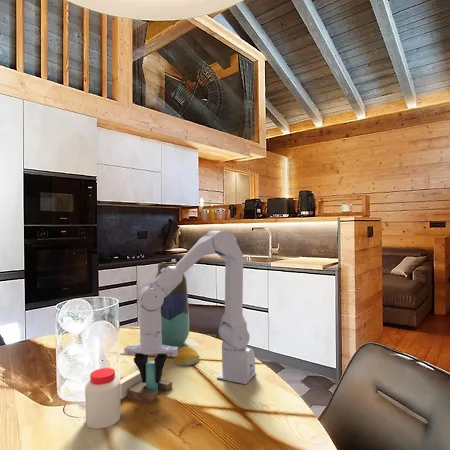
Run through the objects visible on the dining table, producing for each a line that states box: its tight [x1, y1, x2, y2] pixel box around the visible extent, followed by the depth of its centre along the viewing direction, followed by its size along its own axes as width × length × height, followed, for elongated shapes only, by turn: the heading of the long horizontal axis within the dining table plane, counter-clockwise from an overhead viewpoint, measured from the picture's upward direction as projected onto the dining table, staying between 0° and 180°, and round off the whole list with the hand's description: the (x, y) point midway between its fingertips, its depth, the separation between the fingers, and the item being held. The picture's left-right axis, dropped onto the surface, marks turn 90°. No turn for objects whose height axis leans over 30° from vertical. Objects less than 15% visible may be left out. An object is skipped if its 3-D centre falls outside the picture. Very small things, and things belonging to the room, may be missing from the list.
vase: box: [155, 261, 190, 348], centre depth 132 cm, size 14×14×31 cm
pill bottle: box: [84, 367, 122, 430], centre depth 81 cm, size 8×8×11 cm
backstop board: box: [119, 369, 142, 400], centre depth 97 cm, size 2×12×4 cm, turn 153°
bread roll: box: [173, 347, 200, 366], centre depth 116 cm, size 8×9×4 cm
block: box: [127, 378, 173, 404], centre depth 94 cm, size 8×9×2 cm
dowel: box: [146, 360, 159, 394], centre depth 94 cm, size 3×3×8 cm
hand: (151, 381), depth 94 cm, fingers closed on dowel, 3 cm apart
